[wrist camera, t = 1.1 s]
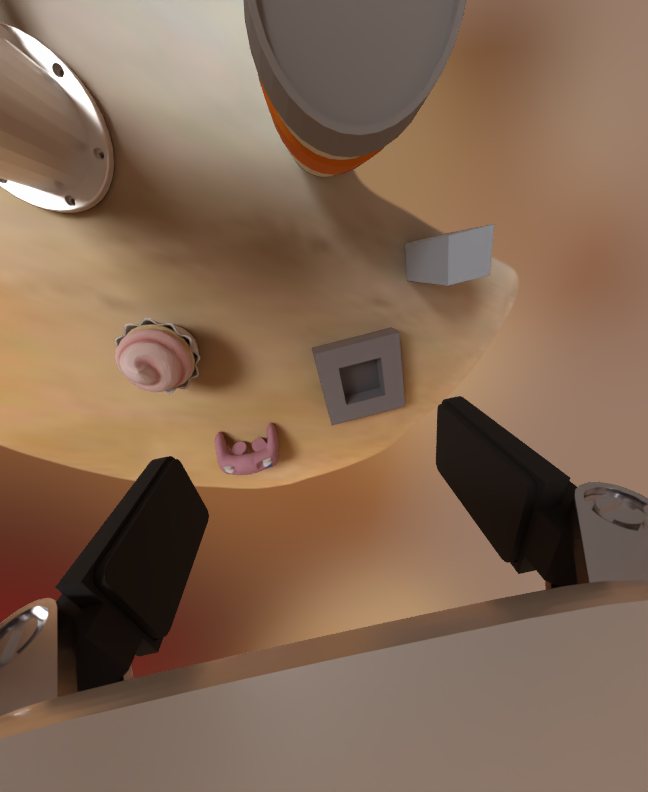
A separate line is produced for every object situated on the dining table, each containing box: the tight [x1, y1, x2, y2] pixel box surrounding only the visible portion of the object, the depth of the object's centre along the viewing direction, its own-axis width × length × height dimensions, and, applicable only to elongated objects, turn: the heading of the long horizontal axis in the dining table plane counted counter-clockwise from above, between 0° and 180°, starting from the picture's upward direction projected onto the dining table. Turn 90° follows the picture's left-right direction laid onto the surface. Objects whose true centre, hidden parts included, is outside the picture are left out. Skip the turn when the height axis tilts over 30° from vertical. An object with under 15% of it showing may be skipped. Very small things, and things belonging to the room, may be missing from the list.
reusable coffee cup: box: [244, 0, 466, 177], centre depth 20 cm, size 12×13×15 cm
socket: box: [312, 328, 405, 425], centre depth 39 cm, size 12×12×3 cm
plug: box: [405, 224, 494, 286], centre depth 29 cm, size 4×4×10 cm
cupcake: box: [115, 317, 201, 394], centre depth 30 cm, size 9×9×10 cm
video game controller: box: [215, 423, 279, 475], centre depth 41 cm, size 10×5×7 cm, turn 97°
